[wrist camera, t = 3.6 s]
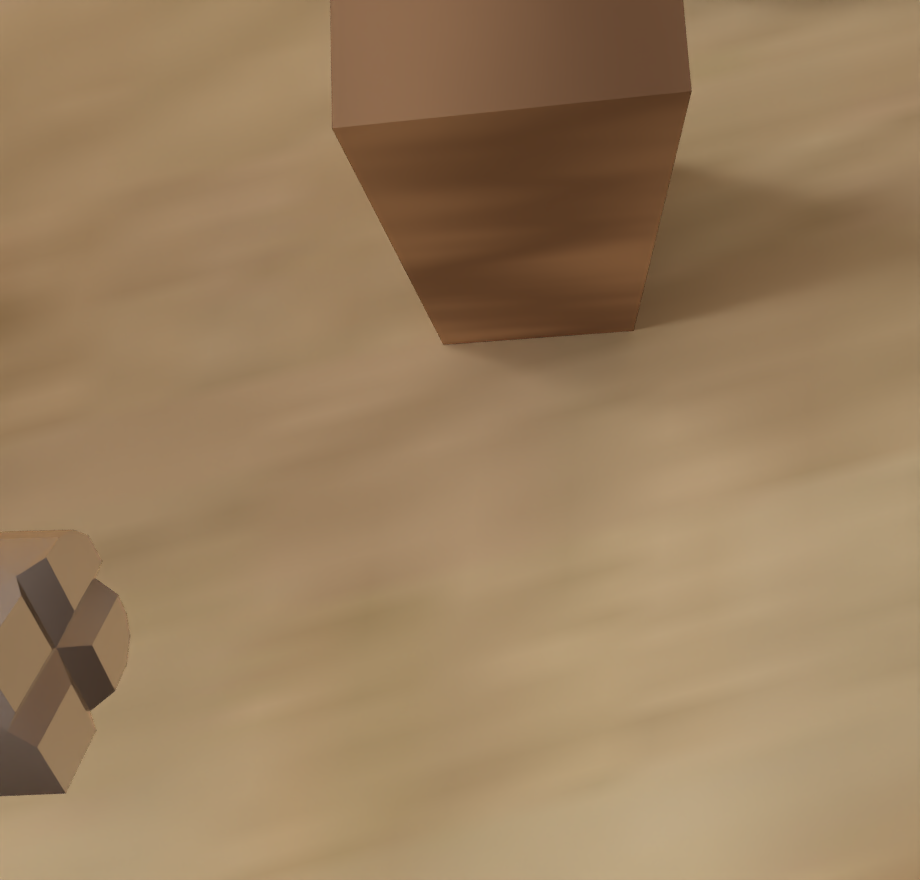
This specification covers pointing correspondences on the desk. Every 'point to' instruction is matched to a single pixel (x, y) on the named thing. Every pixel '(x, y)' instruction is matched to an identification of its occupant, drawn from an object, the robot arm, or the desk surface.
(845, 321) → the desk surface
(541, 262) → the walnut block
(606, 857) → the desk surface
